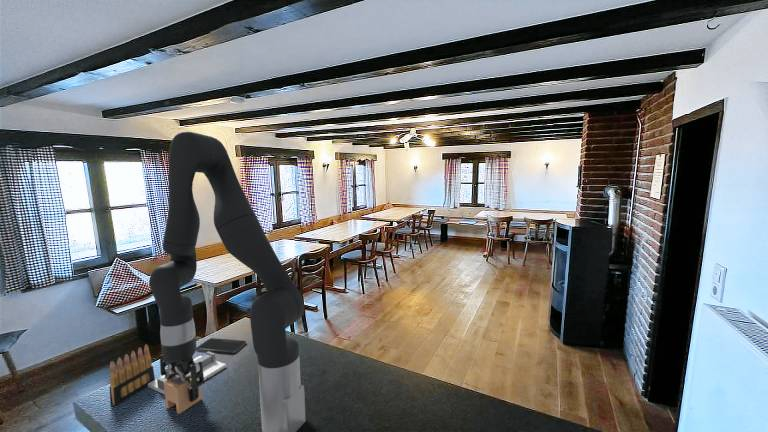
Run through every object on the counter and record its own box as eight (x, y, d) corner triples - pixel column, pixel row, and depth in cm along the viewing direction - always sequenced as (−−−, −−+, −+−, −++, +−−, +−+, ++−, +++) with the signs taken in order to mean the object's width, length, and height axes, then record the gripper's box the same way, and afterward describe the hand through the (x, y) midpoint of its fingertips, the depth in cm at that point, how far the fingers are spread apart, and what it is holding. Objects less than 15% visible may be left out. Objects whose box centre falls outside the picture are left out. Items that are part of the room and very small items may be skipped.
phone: (233, 352, 107) (194, 348, 110) (233, 355, 108) (194, 351, 110) (247, 341, 115) (210, 337, 118) (247, 343, 115) (210, 340, 118)
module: (201, 399, 86) (199, 373, 85) (179, 414, 80) (176, 387, 80) (188, 393, 88) (186, 368, 87) (166, 407, 83) (163, 381, 82)
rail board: (226, 367, 100) (225, 356, 100) (174, 398, 86) (173, 386, 86) (200, 358, 105) (199, 348, 105) (148, 387, 91) (146, 375, 91)
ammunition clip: (115, 406, 83) (110, 363, 82) (110, 405, 84) (105, 362, 83) (155, 381, 94) (151, 343, 92) (150, 380, 94) (147, 342, 93)
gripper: (210, 336, 83) (214, 394, 85) (176, 325, 89) (180, 379, 91) (181, 350, 76) (186, 413, 78) (146, 337, 82) (152, 396, 84)
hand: (183, 395), depth 84 cm, fingers open, 8 cm apart
